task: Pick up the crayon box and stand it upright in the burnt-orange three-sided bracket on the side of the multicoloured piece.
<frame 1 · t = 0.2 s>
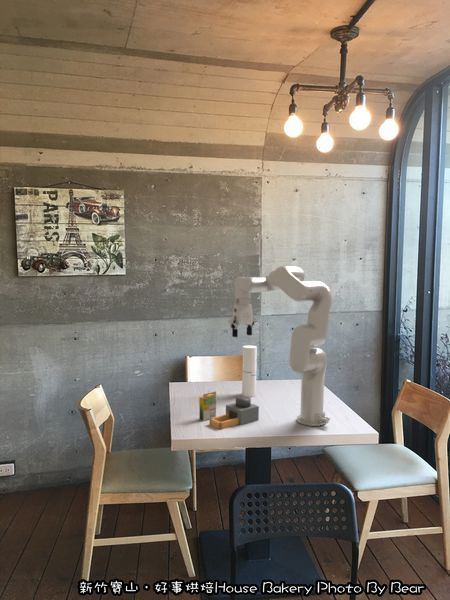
hand: (242, 336, 224), 31 cm above the table, tool pointing down, fingers open, 9 cm apart
multicoloured piece: (242, 419, 194), on the table
cylindrical container: (248, 395, 231), on the table
crayon box: (207, 418, 195), on the table
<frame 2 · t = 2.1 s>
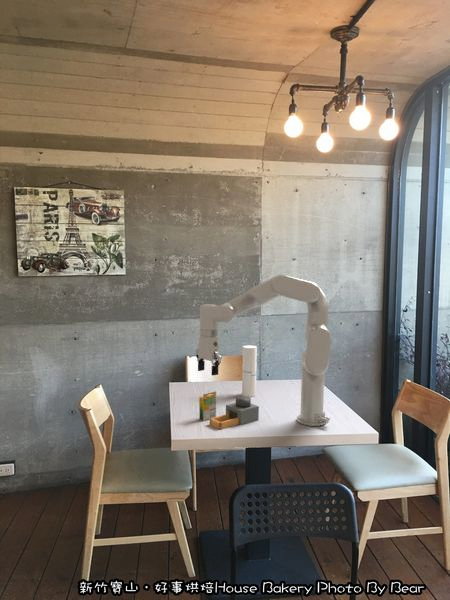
hand: (207, 372, 193), 20 cm above the table, tool pointing down, fingers open, 9 cm apart
nothing on the table moved.
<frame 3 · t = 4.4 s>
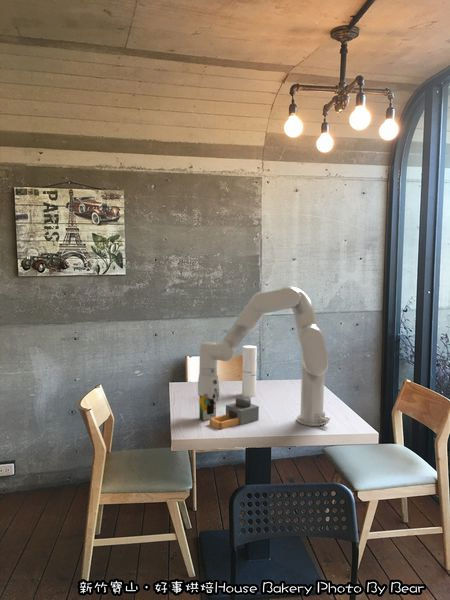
hand: (207, 412, 195), 3 cm above the table, tool pointing down, fingers closed on crayon box, 3 cm apart
crayon box: (207, 418, 195), on the table, touching gripper
everything else where it was.
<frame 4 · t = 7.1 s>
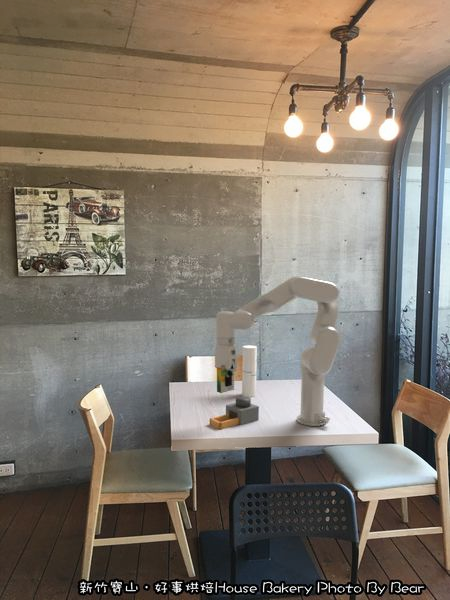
hand: (225, 384, 187), 17 cm above the table, tool pointing down, fingers closed on crayon box, 3 cm apart
crayon box: (225, 391, 187), point 14 cm above the table, touching gripper
everything else where it was.
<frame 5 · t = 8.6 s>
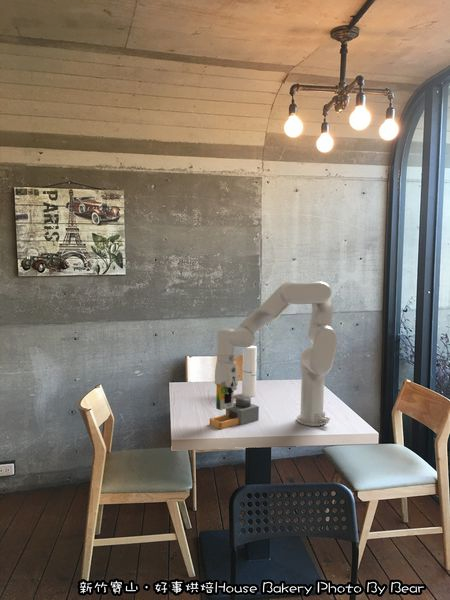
hand: (225, 401, 187), 10 cm above the table, tool pointing down, fingers closed on crayon box, 3 cm apart
crayon box: (224, 408, 188), point 7 cm above the table, touching gripper
everything else where it was.
when the fingers open (4 cm above the table, at t = 9.9 s): crayon box drops 1 cm, resting in multicoloured piece.
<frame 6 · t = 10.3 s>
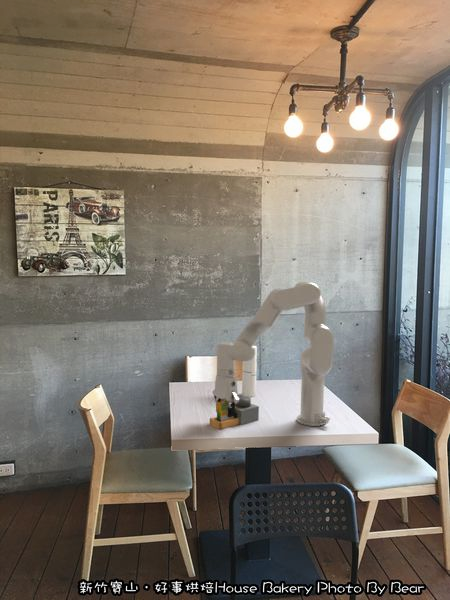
hand: (225, 413, 188), 4 cm above the table, tool pointing down, fingers open, 7 cm apart
crayon box: (225, 424, 188), resting in multicoloured piece
everything else where it was.
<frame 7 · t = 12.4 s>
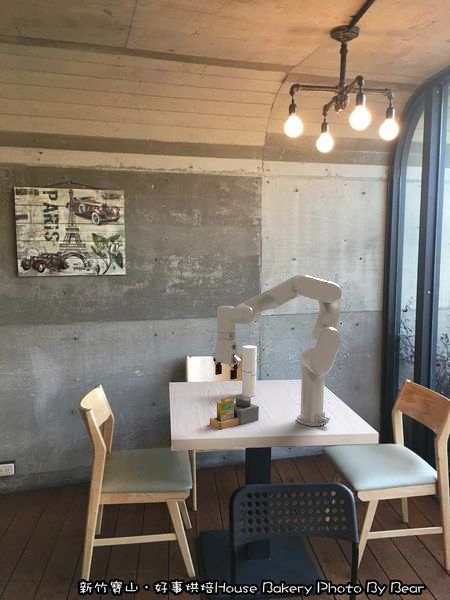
hand: (225, 376, 187), 20 cm above the table, tool pointing down, fingers open, 9 cm apart
nothing on the table moved.
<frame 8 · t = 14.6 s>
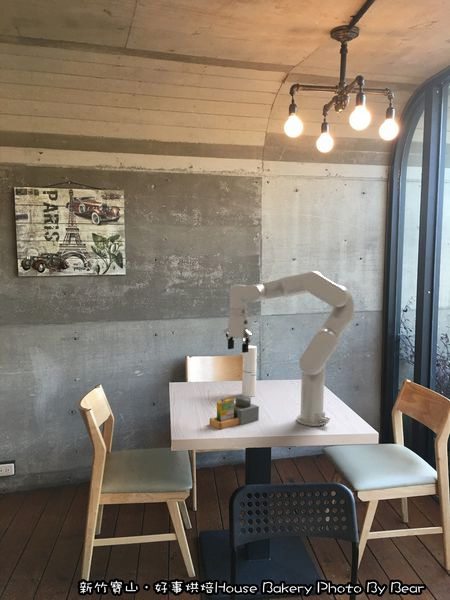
hand: (237, 350, 201), 28 cm above the table, tool pointing down, fingers open, 9 cm apart
nothing on the table moved.
at the end: crayon box 0.1 cm from the target spot on the multicoloured piece, point 0.0 cm above the multicoloured piece's base; crayon box tilted 0°; the gripper is holding nothing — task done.
